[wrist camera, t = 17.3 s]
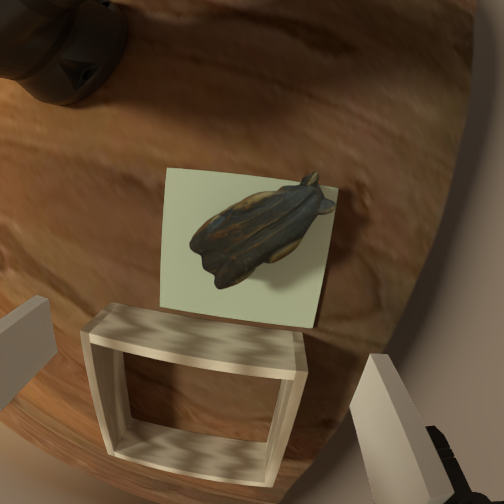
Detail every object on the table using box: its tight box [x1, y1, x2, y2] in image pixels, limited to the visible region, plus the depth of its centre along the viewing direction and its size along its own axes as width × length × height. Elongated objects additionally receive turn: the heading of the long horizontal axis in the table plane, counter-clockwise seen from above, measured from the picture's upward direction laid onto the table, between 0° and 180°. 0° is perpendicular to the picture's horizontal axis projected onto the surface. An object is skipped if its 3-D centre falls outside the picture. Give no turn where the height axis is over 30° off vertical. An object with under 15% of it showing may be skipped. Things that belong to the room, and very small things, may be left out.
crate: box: [80, 302, 308, 487], centre depth 36 cm, size 24×22×8 cm
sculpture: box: [189, 172, 336, 290], centre depth 29 cm, size 13×6×7 cm, turn 123°
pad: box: [160, 168, 339, 328], centre depth 34 cm, size 18×16×1 cm
